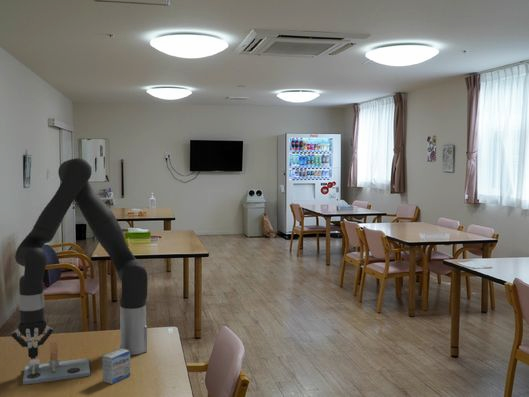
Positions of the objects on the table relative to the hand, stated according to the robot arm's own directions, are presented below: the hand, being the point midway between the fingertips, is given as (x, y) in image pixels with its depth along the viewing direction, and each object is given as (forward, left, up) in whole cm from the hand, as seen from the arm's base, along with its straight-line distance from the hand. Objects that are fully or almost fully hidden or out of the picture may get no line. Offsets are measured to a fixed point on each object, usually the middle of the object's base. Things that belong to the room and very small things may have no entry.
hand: (33, 357), depth 168 cm
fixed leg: (0, +1, -4) cm, 4 cm away
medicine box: (-25, +13, -6) cm, 29 cm away
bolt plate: (-7, +2, -6) cm, 9 cm away
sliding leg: (-6, +1, -4) cm, 8 cm away
